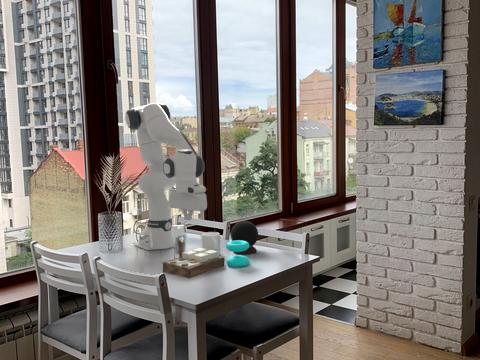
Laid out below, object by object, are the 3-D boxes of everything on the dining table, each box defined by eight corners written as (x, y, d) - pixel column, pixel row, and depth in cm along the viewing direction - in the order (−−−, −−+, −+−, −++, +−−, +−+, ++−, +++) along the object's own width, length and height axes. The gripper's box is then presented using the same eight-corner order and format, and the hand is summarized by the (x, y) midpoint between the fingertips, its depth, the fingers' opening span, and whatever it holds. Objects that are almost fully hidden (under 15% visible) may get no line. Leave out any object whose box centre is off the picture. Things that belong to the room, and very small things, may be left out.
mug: (225, 258, 229) (224, 236, 228) (207, 260, 227) (207, 238, 226) (217, 252, 241) (216, 231, 240) (200, 254, 238) (199, 233, 237)
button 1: (182, 261, 217) (182, 252, 216) (189, 259, 220) (189, 250, 219) (189, 263, 214) (189, 254, 213) (197, 261, 217) (196, 252, 217)
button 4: (203, 261, 217) (203, 252, 216) (211, 258, 220) (210, 249, 219) (211, 262, 214) (211, 253, 213) (218, 260, 217) (218, 251, 217)
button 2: (194, 264, 212) (193, 255, 212) (201, 261, 215) (200, 252, 215) (201, 265, 209) (201, 256, 209) (208, 263, 213) (208, 254, 212)
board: (162, 271, 211) (162, 261, 211) (198, 260, 227) (197, 250, 227) (189, 278, 201) (188, 267, 200) (224, 266, 217) (224, 255, 216)
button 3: (192, 258, 221) (192, 249, 221) (199, 256, 224) (199, 247, 224) (199, 260, 218) (199, 251, 218) (206, 258, 222) (206, 249, 221)
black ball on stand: (263, 253, 237) (262, 221, 235) (236, 256, 232) (235, 224, 230) (252, 247, 249) (251, 217, 247) (227, 250, 244) (226, 219, 243)
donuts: (253, 242, 216) (235, 246, 210) (254, 264, 217) (236, 269, 211) (239, 238, 224) (221, 242, 218) (240, 260, 225) (222, 264, 219)
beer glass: (181, 261, 227) (180, 228, 225) (169, 259, 231) (168, 227, 229) (191, 257, 233) (189, 225, 231) (179, 255, 237) (178, 224, 235)
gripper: (164, 187, 218) (166, 218, 219) (198, 189, 204) (199, 223, 206) (175, 185, 222) (176, 216, 224) (208, 188, 209) (210, 220, 211)
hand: (188, 219), depth 215 cm, fingers closed
